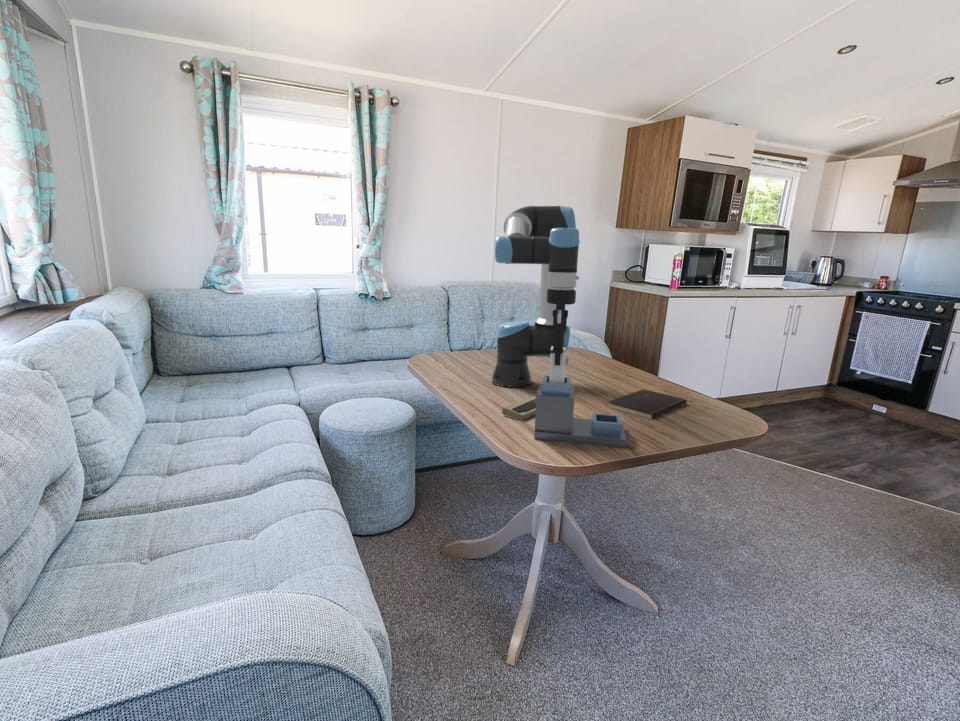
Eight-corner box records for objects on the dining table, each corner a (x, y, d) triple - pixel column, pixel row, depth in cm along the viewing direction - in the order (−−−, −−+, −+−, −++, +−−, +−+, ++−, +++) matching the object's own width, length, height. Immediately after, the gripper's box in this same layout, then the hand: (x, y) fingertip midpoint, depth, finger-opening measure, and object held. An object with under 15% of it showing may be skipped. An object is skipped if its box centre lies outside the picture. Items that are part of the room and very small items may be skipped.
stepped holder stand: (534, 438, 131) (536, 385, 128) (538, 421, 144) (540, 372, 141) (626, 447, 126) (631, 392, 123) (621, 428, 140) (626, 378, 136)
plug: (548, 391, 133) (550, 348, 130) (549, 387, 136) (551, 346, 134) (566, 393, 132) (568, 349, 129) (566, 389, 136) (569, 347, 133)
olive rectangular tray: (523, 422, 145) (524, 412, 144) (501, 416, 149) (501, 406, 149) (550, 409, 157) (550, 399, 156) (528, 404, 162) (529, 395, 161)
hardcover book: (606, 408, 159) (607, 401, 159) (642, 395, 174) (643, 389, 174) (652, 421, 148) (652, 414, 147) (686, 405, 163) (687, 399, 162)
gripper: (575, 291, 119) (570, 383, 124) (576, 286, 135) (571, 367, 141) (544, 290, 120) (540, 381, 126) (549, 285, 137) (545, 366, 142)
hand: (557, 374), depth 133 cm, fingers closed on plug, 4 cm apart
